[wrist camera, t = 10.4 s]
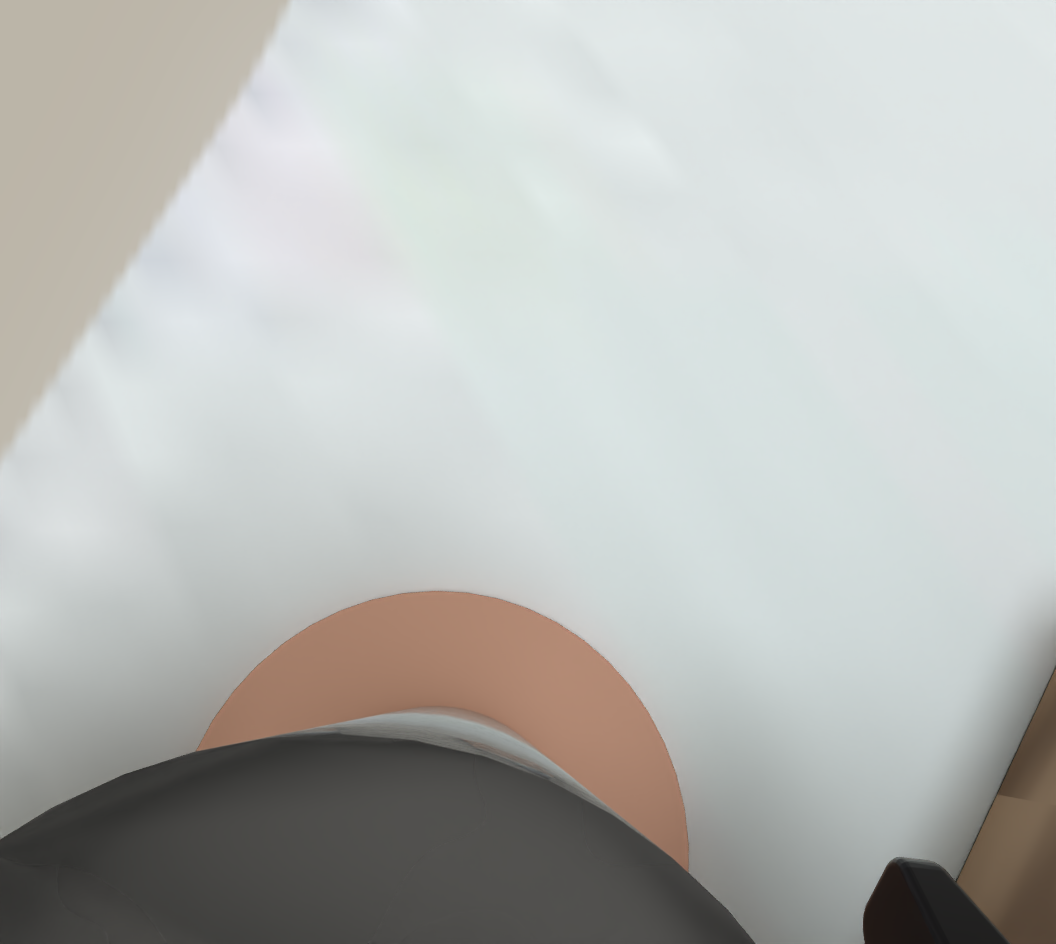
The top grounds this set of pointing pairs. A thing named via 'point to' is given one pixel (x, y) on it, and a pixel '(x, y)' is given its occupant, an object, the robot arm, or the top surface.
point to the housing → (1021, 839)
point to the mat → (470, 693)
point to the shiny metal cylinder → (351, 849)
